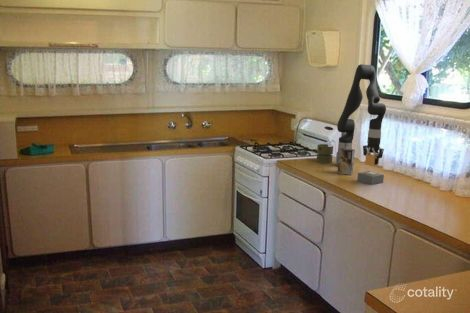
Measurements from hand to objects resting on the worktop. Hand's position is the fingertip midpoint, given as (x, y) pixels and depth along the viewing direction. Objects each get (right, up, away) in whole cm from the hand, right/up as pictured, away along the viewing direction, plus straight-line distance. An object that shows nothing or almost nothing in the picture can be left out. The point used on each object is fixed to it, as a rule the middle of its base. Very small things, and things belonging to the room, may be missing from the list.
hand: (371, 163), depth 296 cm
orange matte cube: (0, -1, 0) cm, 1 cm away
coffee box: (-11, -7, +23) cm, 26 cm away
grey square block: (0, -11, +2) cm, 11 cm away
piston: (-18, 0, +58) cm, 61 cm away
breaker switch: (0, -9, +2) cm, 9 cm away
